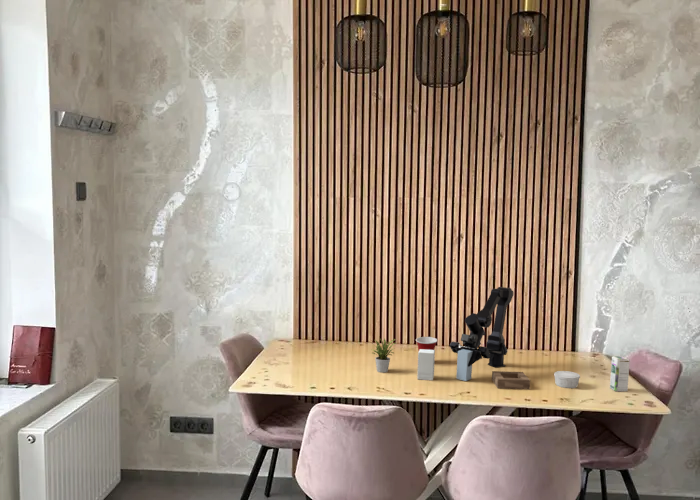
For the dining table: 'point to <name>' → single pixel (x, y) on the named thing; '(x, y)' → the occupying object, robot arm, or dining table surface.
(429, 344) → the plastic cup
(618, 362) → the syrup box
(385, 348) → the house plant
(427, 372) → the supplement box
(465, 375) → the slate blue peg
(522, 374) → the walnut socket block
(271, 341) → the dining table surface
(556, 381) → the ramekin
